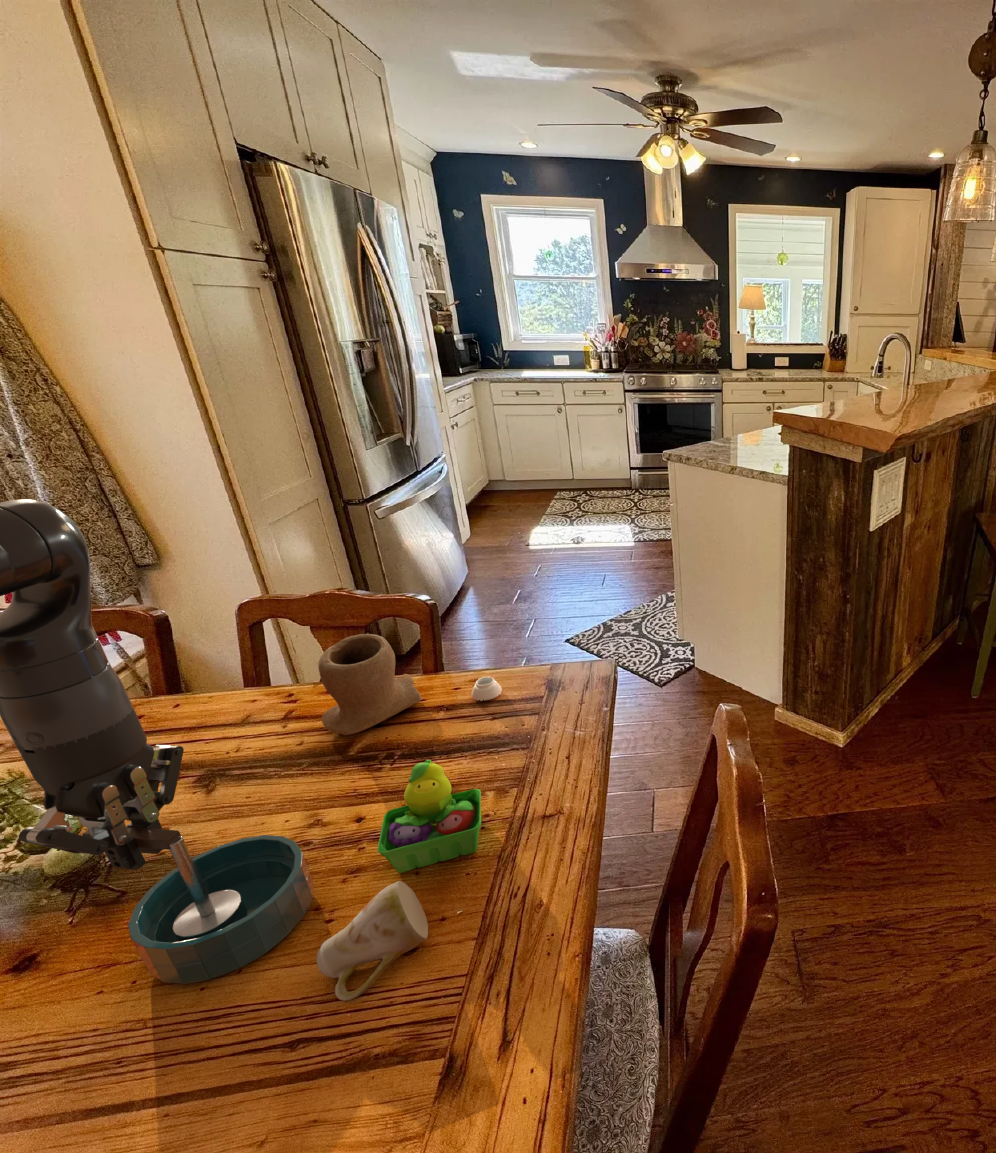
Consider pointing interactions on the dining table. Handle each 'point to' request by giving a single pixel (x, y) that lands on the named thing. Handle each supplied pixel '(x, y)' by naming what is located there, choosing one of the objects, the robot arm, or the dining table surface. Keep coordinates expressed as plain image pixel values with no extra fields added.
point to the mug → (374, 937)
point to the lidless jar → (486, 689)
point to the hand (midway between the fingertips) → (143, 858)
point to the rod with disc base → (192, 888)
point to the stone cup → (363, 684)
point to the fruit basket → (430, 821)
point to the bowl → (274, 905)
